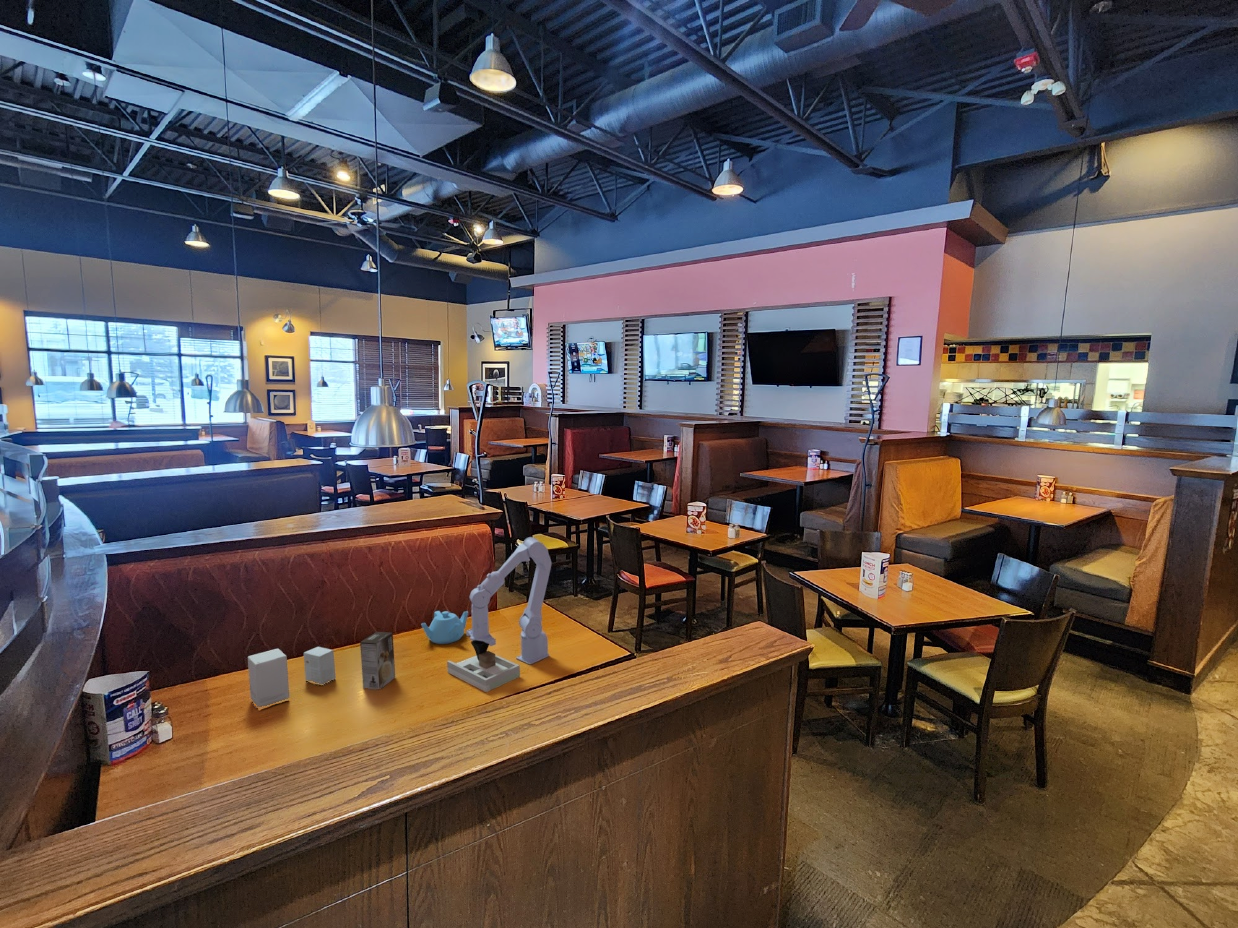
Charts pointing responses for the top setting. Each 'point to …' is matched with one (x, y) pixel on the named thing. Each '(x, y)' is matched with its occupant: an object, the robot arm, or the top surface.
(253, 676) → the supplement box
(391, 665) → the coffee box
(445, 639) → the teapot
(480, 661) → the walnut block
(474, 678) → the tray
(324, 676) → the small box
